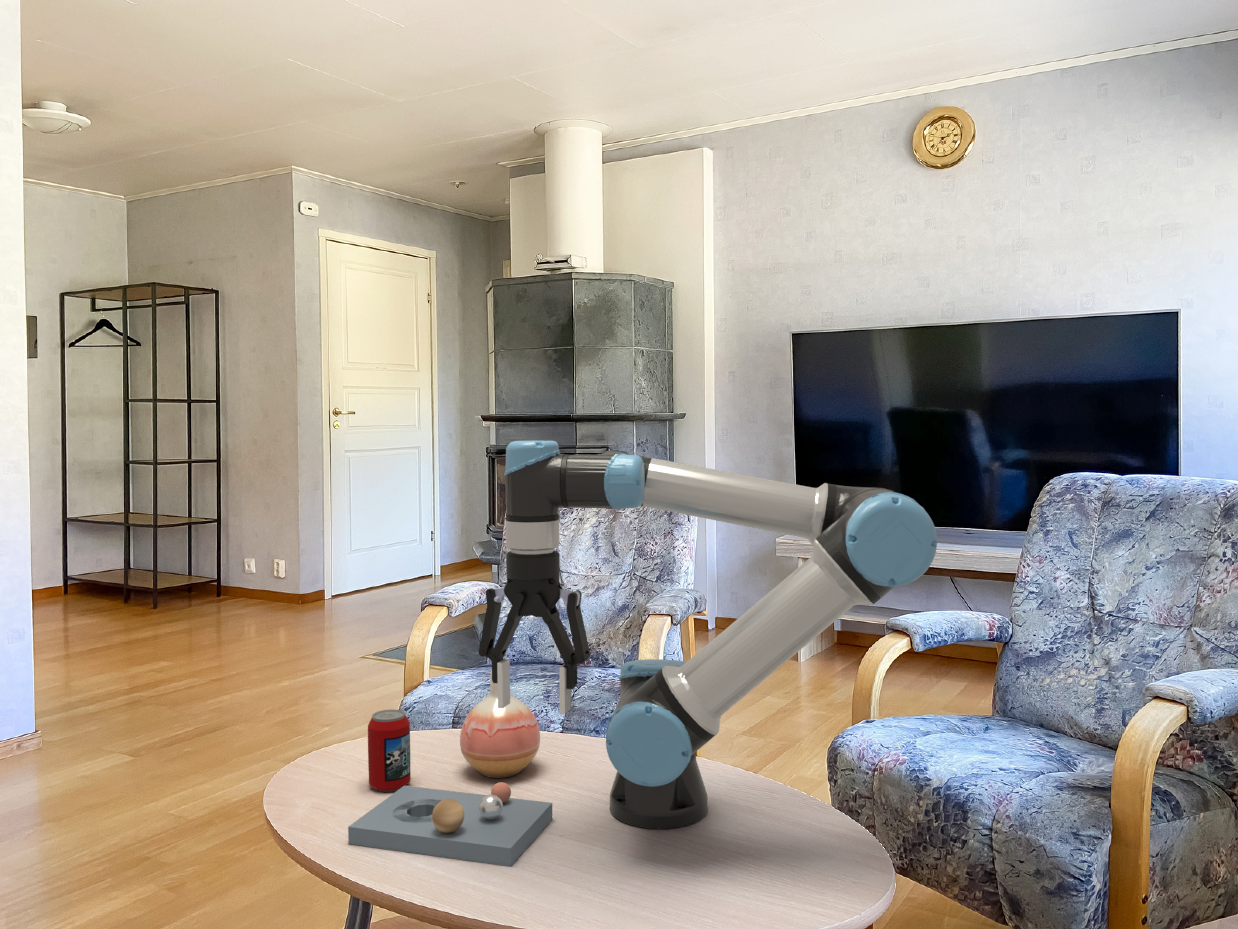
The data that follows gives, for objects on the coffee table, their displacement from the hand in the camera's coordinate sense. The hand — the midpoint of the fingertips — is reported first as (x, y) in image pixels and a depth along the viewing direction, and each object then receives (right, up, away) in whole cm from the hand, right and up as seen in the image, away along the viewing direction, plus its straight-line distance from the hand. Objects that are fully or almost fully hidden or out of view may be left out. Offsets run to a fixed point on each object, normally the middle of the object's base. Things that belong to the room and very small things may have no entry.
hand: (534, 708), depth 137 cm
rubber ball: (-6, -15, +9) cm, 18 cm away
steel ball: (-7, -15, +3) cm, 17 cm away
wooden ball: (-12, -15, -1) cm, 19 cm away
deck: (-12, -19, +5) cm, 23 cm away
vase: (-8, -18, +28) cm, 35 cm away
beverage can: (-26, -19, +22) cm, 39 cm away
